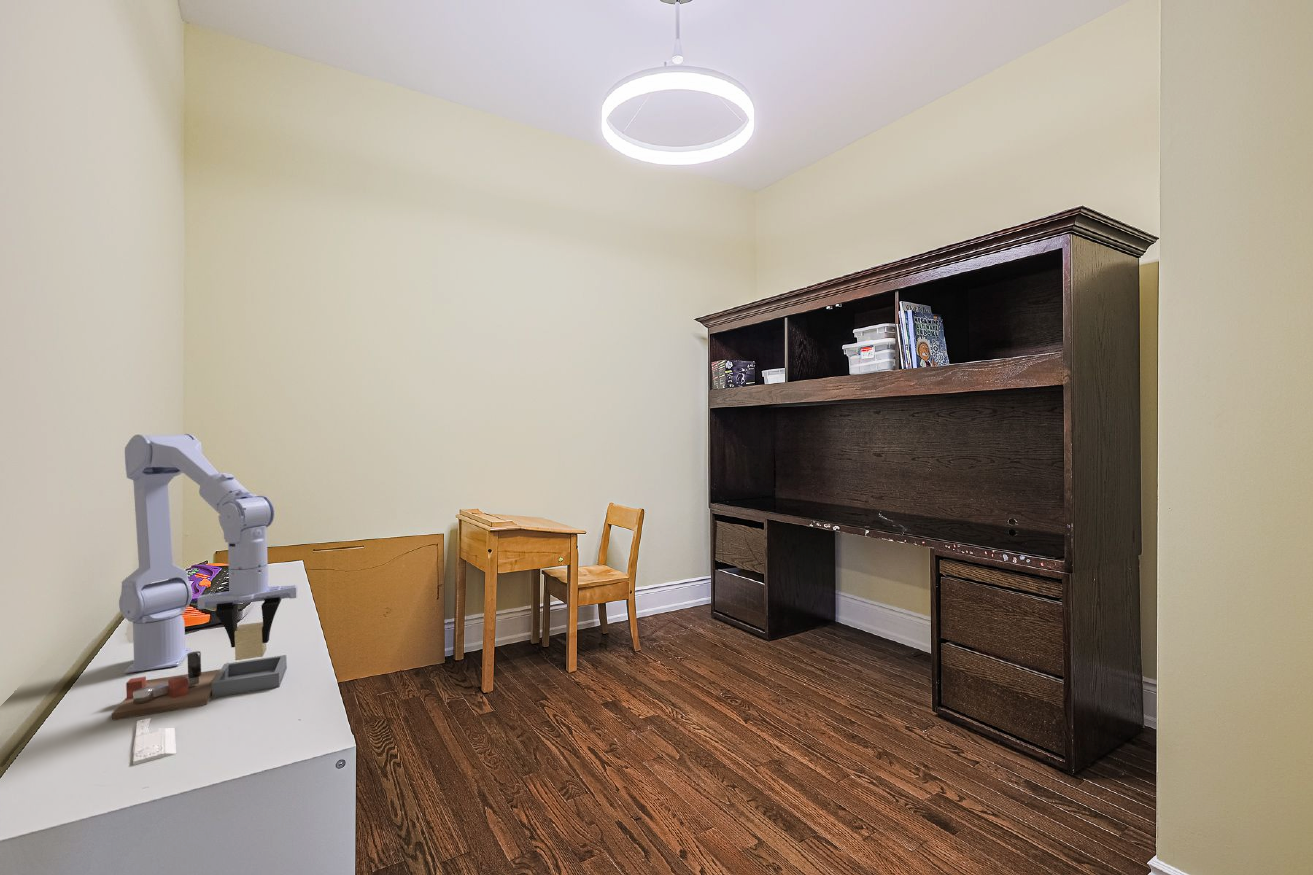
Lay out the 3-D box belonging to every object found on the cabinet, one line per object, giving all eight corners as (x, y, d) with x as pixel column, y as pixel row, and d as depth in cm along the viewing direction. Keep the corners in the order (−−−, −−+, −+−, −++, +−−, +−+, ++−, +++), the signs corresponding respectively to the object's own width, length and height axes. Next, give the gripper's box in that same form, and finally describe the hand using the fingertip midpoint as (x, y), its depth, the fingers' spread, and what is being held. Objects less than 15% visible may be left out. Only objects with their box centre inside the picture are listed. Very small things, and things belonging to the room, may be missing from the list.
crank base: (142, 686, 108) (142, 666, 108) (225, 673, 113) (225, 654, 112) (111, 720, 95) (111, 697, 95) (206, 704, 100) (205, 682, 100)
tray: (224, 676, 111) (224, 663, 111) (286, 667, 115) (286, 654, 115) (212, 697, 102) (211, 683, 102) (279, 686, 106) (279, 672, 106)
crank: (197, 680, 107) (196, 650, 106) (204, 683, 105) (203, 652, 105) (130, 700, 99) (129, 667, 99) (136, 704, 97) (135, 671, 97)
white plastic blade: (179, 716, 96) (178, 709, 96) (180, 756, 85) (180, 748, 85) (136, 726, 93) (136, 719, 93) (131, 768, 82) (131, 760, 82)
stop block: (240, 652, 110) (239, 624, 110) (266, 649, 112) (265, 621, 111) (235, 660, 106) (234, 631, 106) (262, 656, 108) (261, 627, 108)
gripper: (191, 575, 102) (194, 657, 102) (293, 566, 108) (295, 643, 108) (202, 567, 108) (204, 644, 108) (297, 558, 114) (299, 631, 114)
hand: (250, 643), depth 109 cm, fingers closed on stop block, 4 cm apart
